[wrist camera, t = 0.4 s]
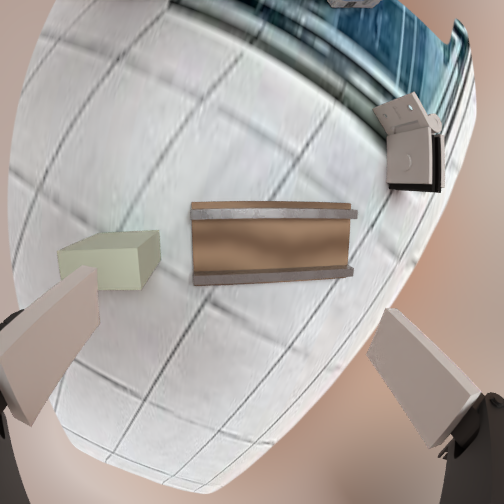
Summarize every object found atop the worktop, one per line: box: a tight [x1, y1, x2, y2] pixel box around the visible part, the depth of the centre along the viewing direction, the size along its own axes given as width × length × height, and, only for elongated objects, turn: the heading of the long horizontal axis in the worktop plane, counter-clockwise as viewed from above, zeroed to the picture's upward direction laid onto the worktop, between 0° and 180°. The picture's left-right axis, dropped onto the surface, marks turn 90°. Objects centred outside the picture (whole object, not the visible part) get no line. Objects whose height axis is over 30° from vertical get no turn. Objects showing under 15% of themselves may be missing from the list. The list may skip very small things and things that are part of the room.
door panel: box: [57, 230, 161, 290], centre depth 29 cm, size 4×9×12 cm, turn 91°
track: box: [191, 201, 358, 286], centre depth 36 cm, size 11×22×3 cm, turn 91°
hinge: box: [373, 92, 445, 193], centre depth 33 cm, size 14×5×10 cm, turn 12°
